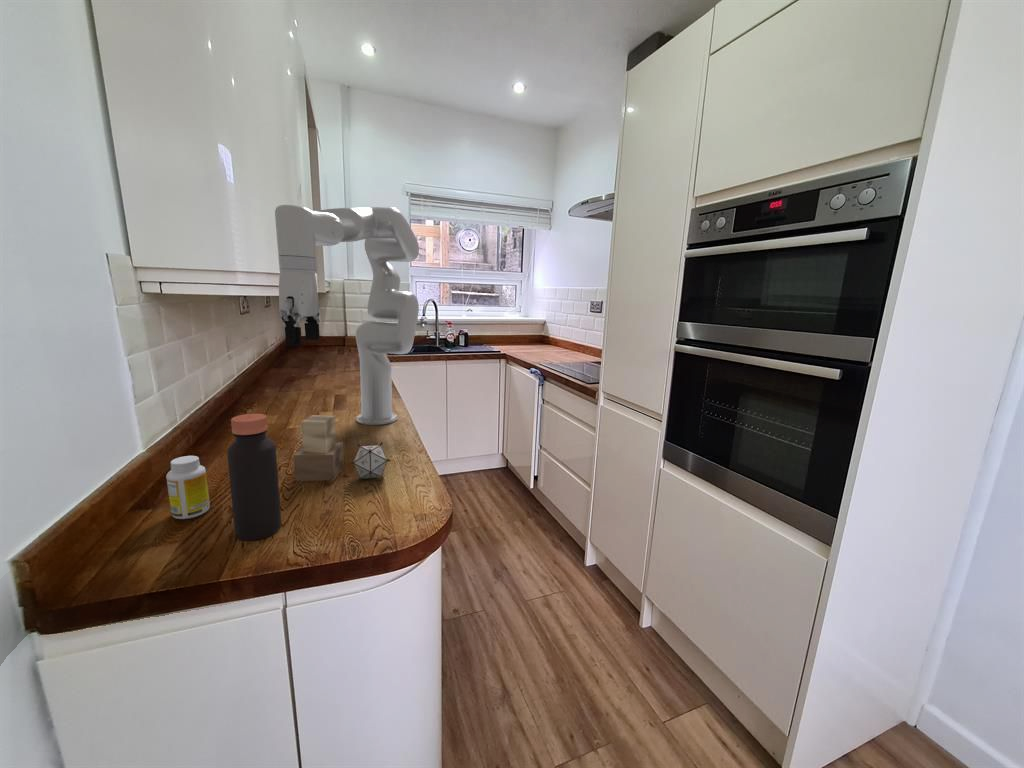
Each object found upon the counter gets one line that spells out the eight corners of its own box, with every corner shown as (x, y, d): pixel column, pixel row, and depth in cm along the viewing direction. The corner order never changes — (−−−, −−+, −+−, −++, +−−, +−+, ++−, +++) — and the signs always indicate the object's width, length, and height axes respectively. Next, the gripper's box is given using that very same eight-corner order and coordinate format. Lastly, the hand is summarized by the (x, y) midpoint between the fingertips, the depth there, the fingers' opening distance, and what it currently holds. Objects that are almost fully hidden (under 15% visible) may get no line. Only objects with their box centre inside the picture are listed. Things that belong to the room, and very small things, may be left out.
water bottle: (286, 531, 71) (279, 418, 67) (240, 546, 66) (229, 426, 62) (274, 515, 76) (266, 409, 72) (230, 529, 71) (219, 416, 67)
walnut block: (308, 466, 98) (306, 442, 97) (343, 466, 99) (342, 442, 98) (295, 481, 90) (293, 455, 89) (334, 480, 91) (332, 455, 90)
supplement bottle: (215, 504, 79) (210, 453, 77) (201, 519, 73) (195, 464, 71) (181, 506, 77) (174, 454, 75) (164, 522, 72) (157, 466, 70)
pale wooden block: (313, 444, 96) (312, 414, 94) (335, 445, 96) (334, 415, 94) (303, 452, 91) (301, 421, 89) (325, 453, 91) (324, 422, 89)
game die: (375, 497, 92) (374, 474, 85) (342, 479, 93) (339, 456, 86) (398, 466, 98) (399, 443, 91) (366, 450, 99) (365, 425, 92)
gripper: (298, 266, 101) (303, 337, 105) (259, 262, 84) (267, 346, 88) (330, 268, 101) (334, 338, 105) (297, 264, 84) (304, 348, 88)
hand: (303, 342), depth 96 cm, fingers open, 9 cm apart
